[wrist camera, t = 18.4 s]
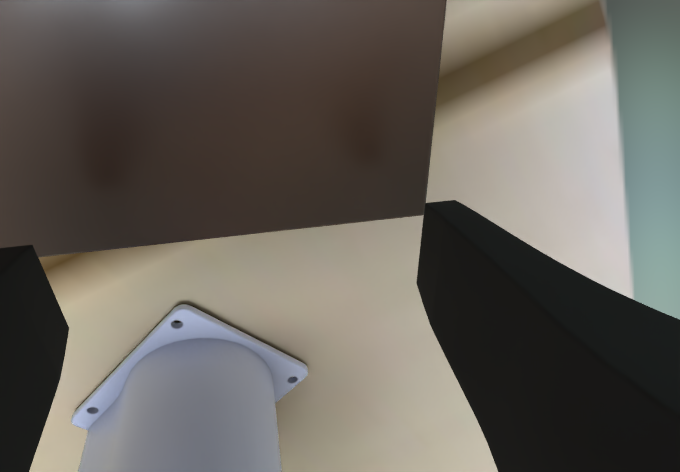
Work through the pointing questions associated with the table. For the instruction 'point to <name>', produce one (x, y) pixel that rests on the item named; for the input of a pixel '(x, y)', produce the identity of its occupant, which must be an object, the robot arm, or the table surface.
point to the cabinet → (211, 117)
